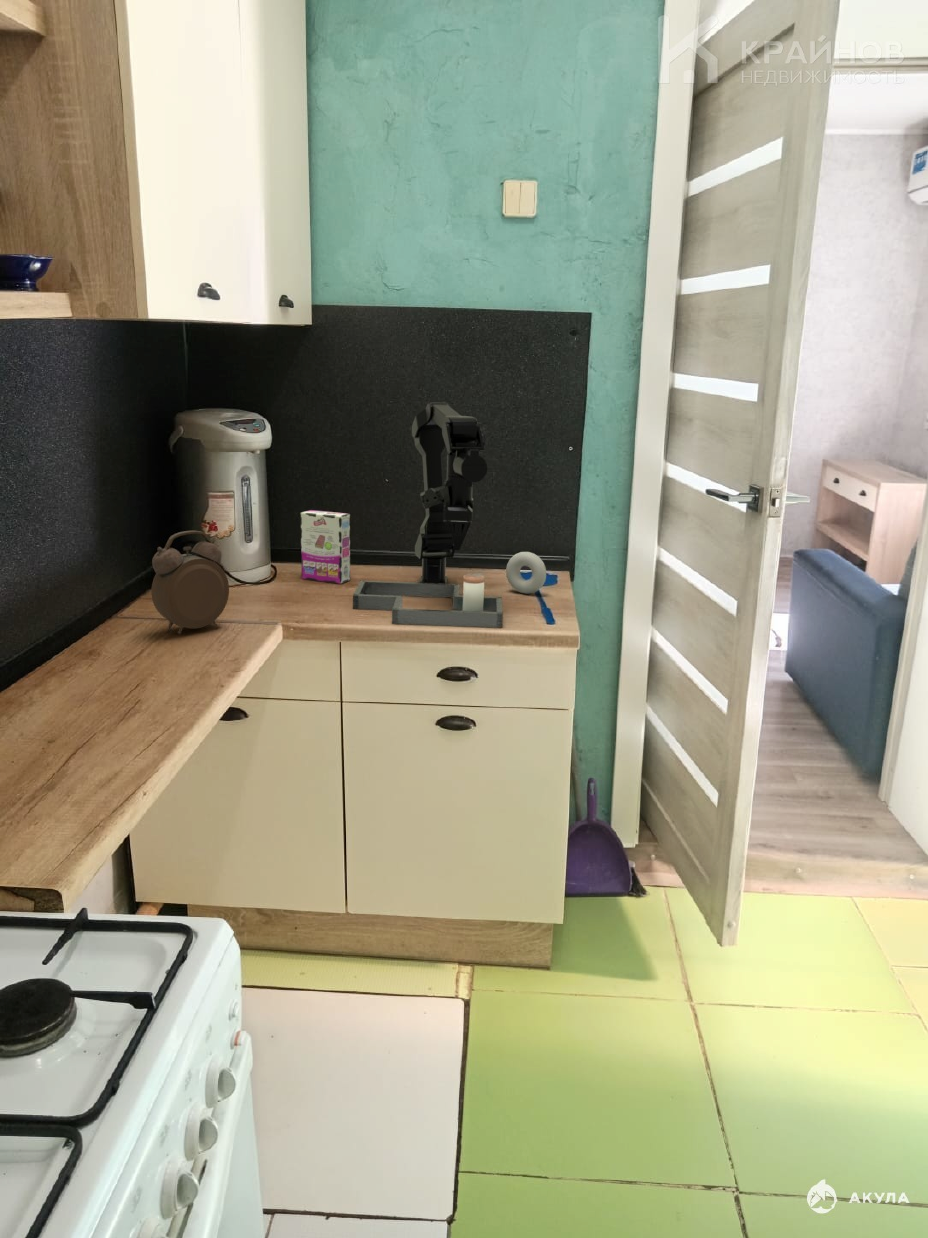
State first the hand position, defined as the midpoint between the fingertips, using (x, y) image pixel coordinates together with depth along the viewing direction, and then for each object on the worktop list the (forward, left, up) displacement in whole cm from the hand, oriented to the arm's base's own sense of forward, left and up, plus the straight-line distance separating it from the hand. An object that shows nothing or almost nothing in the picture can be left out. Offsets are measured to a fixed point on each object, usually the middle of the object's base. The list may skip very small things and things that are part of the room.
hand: (457, 545), depth 218 cm
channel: (+7, -6, -13) cm, 16 cm away
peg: (+12, +4, -13) cm, 18 cm away
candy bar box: (-16, -32, -13) cm, 38 cm away
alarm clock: (+28, -52, -13) cm, 60 cm away
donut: (-10, +16, -13) cm, 23 cm away
